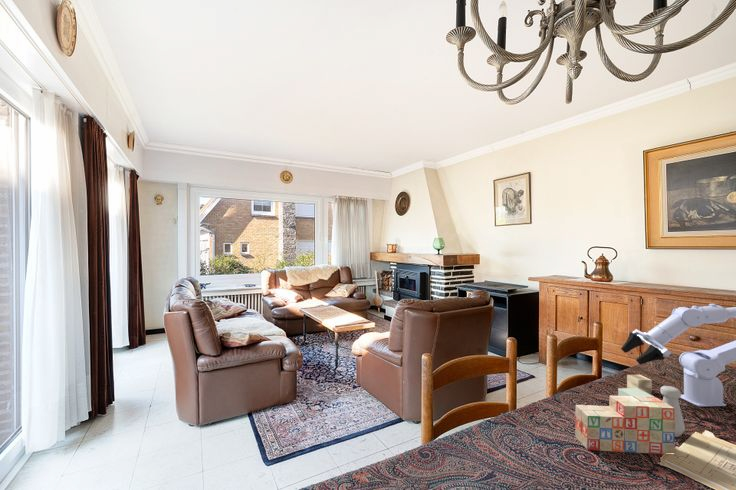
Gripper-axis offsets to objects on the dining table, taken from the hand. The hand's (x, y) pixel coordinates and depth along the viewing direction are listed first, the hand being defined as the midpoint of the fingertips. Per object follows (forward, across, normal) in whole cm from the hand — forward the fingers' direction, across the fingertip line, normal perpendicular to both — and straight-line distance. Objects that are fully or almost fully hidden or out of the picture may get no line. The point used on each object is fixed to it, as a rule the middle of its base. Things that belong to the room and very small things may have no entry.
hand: (630, 356), depth 119 cm
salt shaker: (+10, +27, +2) cm, 29 cm away
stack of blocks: (+22, +34, -11) cm, 41 cm away
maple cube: (+6, 0, +14) cm, 15 cm away
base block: (+10, +8, +8) cm, 15 cm away
